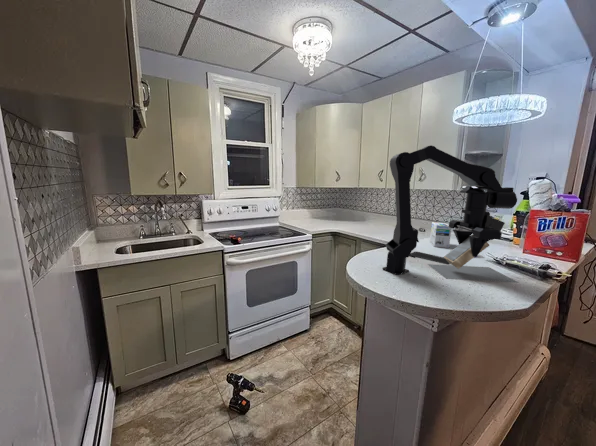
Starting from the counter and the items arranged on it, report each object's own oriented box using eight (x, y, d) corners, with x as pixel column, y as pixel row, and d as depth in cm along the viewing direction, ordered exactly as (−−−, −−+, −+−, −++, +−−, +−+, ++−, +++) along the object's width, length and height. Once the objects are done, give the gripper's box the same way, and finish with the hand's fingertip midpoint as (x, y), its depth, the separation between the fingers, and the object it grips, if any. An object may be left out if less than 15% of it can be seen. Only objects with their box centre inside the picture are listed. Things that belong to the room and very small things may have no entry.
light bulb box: (449, 248, 119) (452, 226, 117) (433, 247, 121) (436, 225, 119) (443, 243, 129) (445, 222, 127) (428, 241, 131) (431, 221, 129)
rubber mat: (446, 279, 80) (446, 278, 80) (427, 265, 93) (427, 264, 93) (519, 283, 78) (519, 282, 78) (488, 268, 92) (489, 267, 92)
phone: (415, 251, 109) (454, 259, 99) (415, 253, 110) (453, 262, 99) (407, 254, 104) (448, 263, 93) (407, 257, 104) (447, 266, 93)
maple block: (452, 262, 82) (483, 238, 80) (443, 256, 88) (472, 234, 85) (458, 269, 82) (489, 245, 80) (449, 263, 88) (477, 240, 86)
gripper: (525, 212, 71) (515, 264, 74) (483, 205, 90) (476, 247, 92) (484, 210, 72) (476, 262, 75) (450, 204, 90) (445, 246, 93)
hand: (468, 253), depth 84 cm, fingers closed on maple block, 6 cm apart
